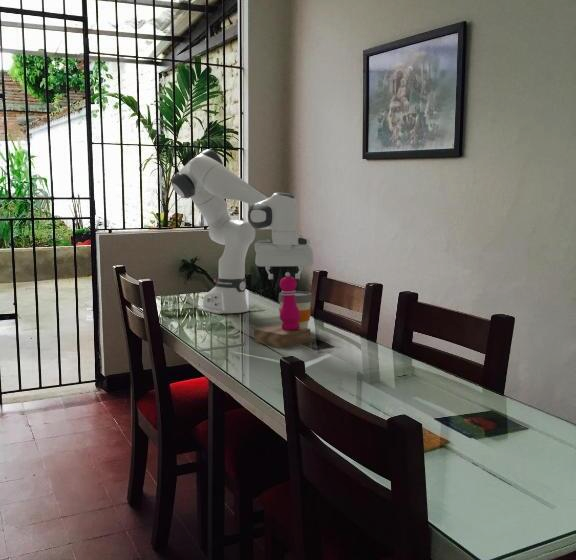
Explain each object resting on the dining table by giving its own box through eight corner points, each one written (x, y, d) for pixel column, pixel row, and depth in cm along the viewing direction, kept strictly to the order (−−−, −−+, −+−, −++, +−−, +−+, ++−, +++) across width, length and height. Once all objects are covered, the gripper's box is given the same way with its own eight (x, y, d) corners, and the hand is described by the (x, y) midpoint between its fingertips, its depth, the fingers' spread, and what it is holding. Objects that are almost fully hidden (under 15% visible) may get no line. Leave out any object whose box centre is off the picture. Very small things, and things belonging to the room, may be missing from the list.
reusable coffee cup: (306, 328, 252) (306, 290, 250) (315, 335, 240) (316, 295, 238) (275, 330, 249) (275, 291, 247) (282, 336, 237) (282, 296, 235)
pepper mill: (277, 330, 227) (274, 273, 224) (284, 326, 233) (281, 271, 231) (296, 330, 224) (293, 273, 222) (303, 326, 231) (300, 270, 228)
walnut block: (254, 343, 229) (254, 329, 228) (281, 337, 239) (281, 323, 238) (283, 349, 219) (283, 334, 219) (310, 342, 230) (310, 328, 229)
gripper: (255, 240, 220) (255, 280, 222) (314, 240, 223) (314, 280, 224) (254, 239, 227) (254, 278, 228) (311, 239, 229) (311, 277, 231)
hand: (284, 279), depth 226 cm, fingers open, 8 cm apart
